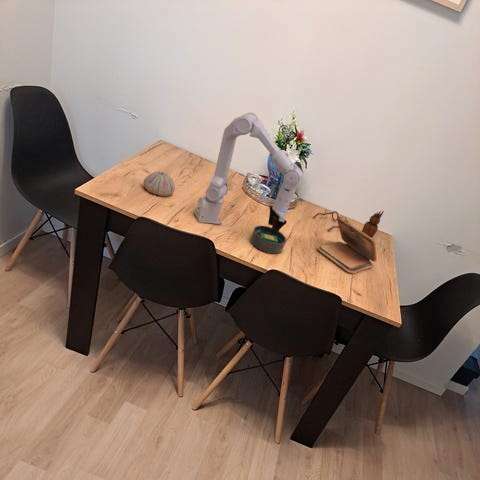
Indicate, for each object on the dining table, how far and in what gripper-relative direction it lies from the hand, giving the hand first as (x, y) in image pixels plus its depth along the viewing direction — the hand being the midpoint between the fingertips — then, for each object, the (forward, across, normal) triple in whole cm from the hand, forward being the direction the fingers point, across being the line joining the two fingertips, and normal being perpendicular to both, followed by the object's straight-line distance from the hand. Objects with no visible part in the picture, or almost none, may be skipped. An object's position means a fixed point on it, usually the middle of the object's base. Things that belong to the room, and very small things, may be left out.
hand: (271, 229), depth 186 cm
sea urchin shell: (+8, +26, +46) cm, 53 cm away
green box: (+7, 0, 0) cm, 7 cm away
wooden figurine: (+7, +35, -59) cm, 69 cm away
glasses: (+8, +38, -39) cm, 55 cm away
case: (+7, +5, -38) cm, 39 cm away
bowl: (+7, 0, 0) cm, 7 cm away
